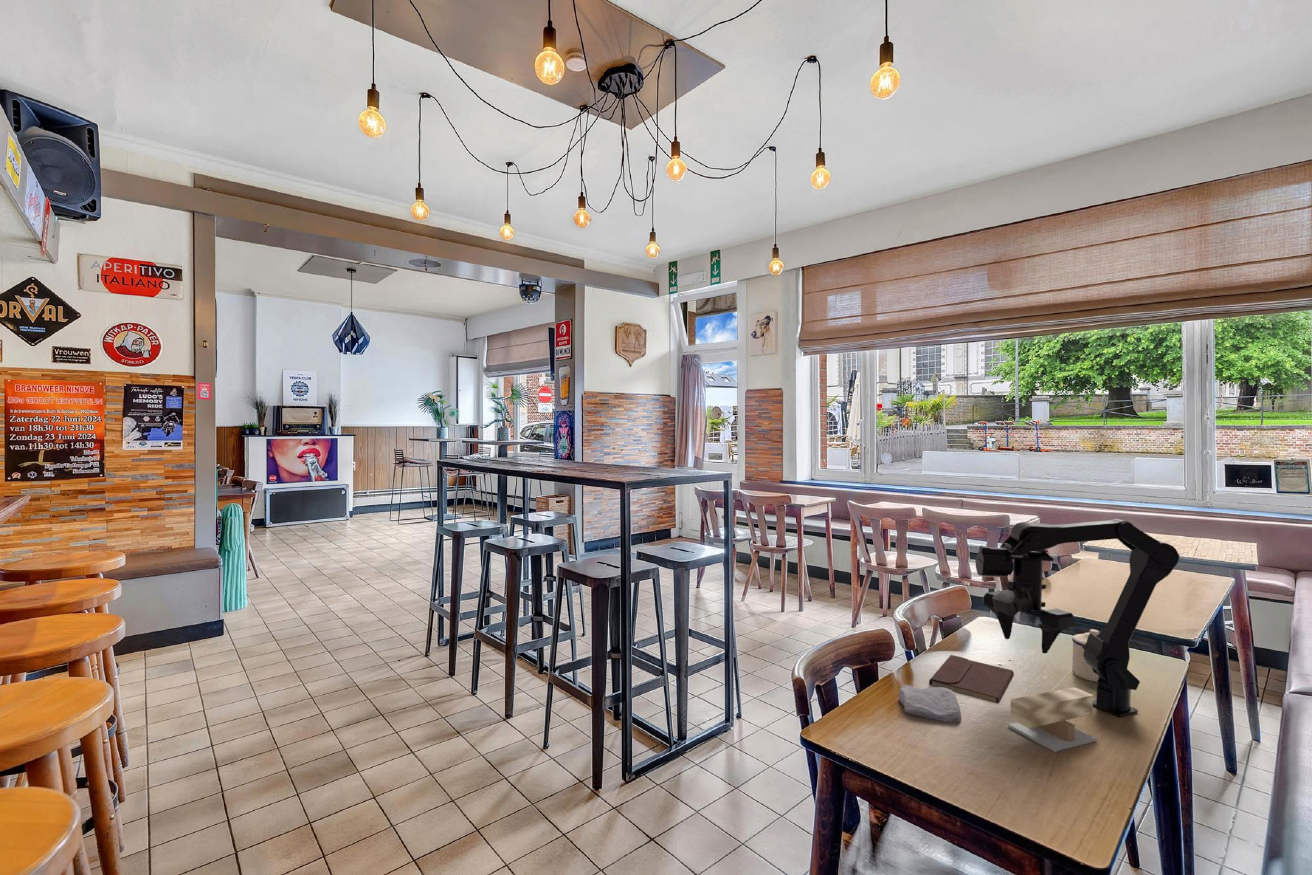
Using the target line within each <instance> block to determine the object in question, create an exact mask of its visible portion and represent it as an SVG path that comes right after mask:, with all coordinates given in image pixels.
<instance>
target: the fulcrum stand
mask: <svg viewBox="0 0 1312 875" xmlns="http://www.w3.org/2000/svg"><path fill="white" fill-rule="evenodd" d="M1007 727H1008V728H1009V729H1010V730H1012V731H1015V733H1016V732H1017V733H1018V734H1020V735H1022V736H1024V737H1025V738H1027V739H1029V740H1031V741H1033V742H1035V743H1037V744H1039V745H1041V746H1043V747H1045V748H1046V749H1048V750H1051V751H1052V752H1054V753H1056V752H1061V751H1064V750H1067V749H1071V748H1075V747H1078V746H1083V745H1086V744H1089V743H1093V742H1097V737H1096V736H1094V735H1092V734H1090V733H1088V732H1085V731H1083V730H1081V729H1080V728H1079V729H1078V728H1077V727H1076V725H1075V724H1073V723H1072V722H1070V721H1068V720H1064V721H1060V722H1055V723H1051V724H1046V725H1041V726H1037V727H1032V728H1027V727H1025V726H1023V725H1021V724H1019V723H1017V722H1012V723H1009V724H1007Z"/></svg>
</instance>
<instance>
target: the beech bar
mask: <svg viewBox="0 0 1312 875" xmlns="http://www.w3.org/2000/svg"><path fill="white" fill-rule="evenodd" d="M1093 701H1094V694H1091V693H1088V692H1087V691H1084V690H1083V689H1079V688H1078V687H1075V686H1073V687H1072V686H1071V687H1068V688H1062V689H1056V690H1051V691H1047V692H1042V693H1037V694H1031V695H1027V696H1021V697H1015V698H1011V699H1010V714H1009V715H1010V717H1009V718H1010V720H1012V721H1014V723H1016V722H1017V723H1019V724H1021V725H1023V726H1025V727H1027V728H1032V727H1037V726H1041V725H1046V724H1051V723H1055V722H1060V721H1064V720H1065V721H1068V720H1072V719H1073V720H1074V719H1077V718H1082V717H1086V716H1092V715H1093V713H1094V712H1093V711H1094V710H1093V709H1094V706H1093Z"/></svg>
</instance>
